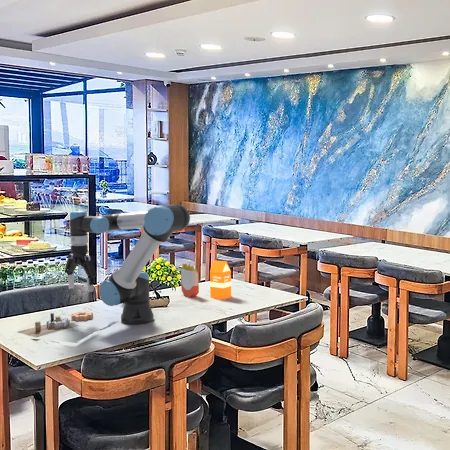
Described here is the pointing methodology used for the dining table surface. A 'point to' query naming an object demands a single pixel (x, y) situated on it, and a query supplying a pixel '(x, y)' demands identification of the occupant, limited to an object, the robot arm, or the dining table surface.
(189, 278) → the french fries container
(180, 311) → the dining table surface
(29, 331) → the gear board
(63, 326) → the gear
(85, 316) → the loose gear
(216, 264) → the orange juice
